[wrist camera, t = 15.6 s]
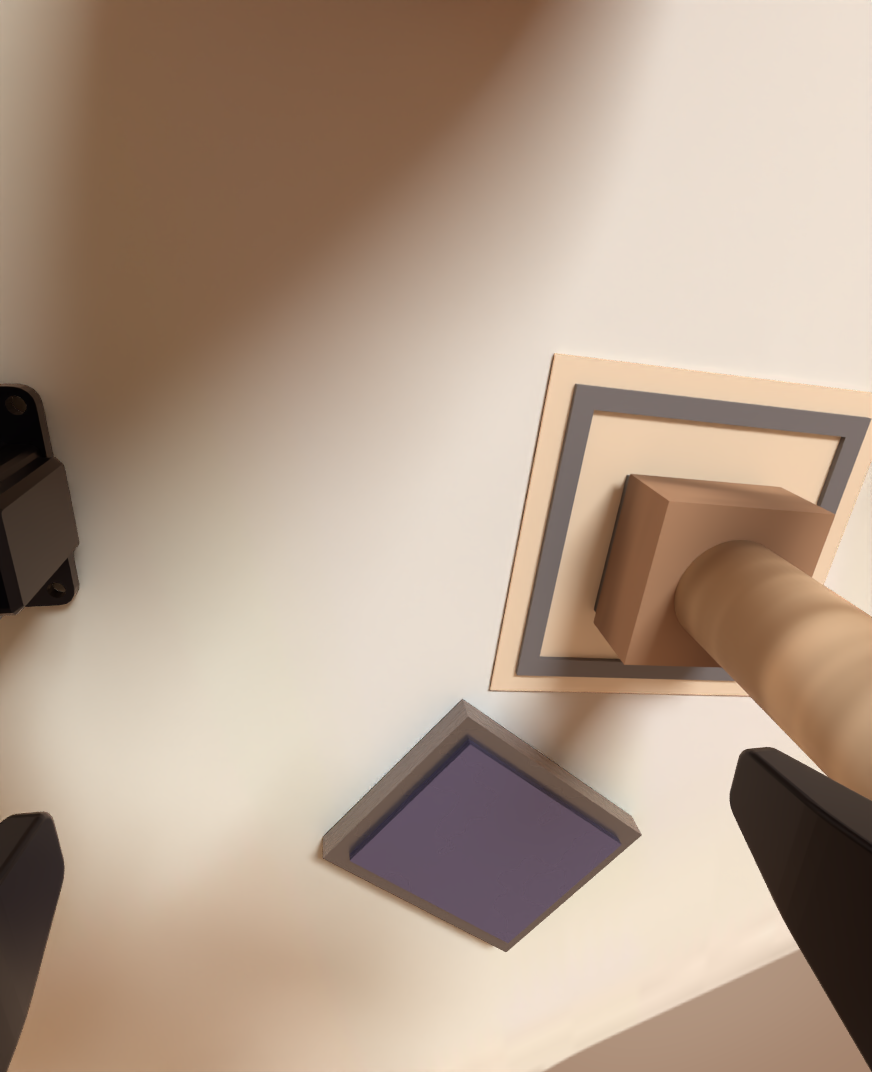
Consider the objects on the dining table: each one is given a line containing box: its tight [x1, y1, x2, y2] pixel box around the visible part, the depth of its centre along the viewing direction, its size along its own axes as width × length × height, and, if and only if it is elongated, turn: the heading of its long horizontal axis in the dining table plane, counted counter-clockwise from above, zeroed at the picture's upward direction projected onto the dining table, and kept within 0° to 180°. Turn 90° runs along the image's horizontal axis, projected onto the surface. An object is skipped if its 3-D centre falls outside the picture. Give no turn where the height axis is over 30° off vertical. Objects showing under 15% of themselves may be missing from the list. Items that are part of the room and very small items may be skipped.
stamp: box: [593, 474, 872, 801], centre depth 17 cm, size 5×5×12 cm
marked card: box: [490, 353, 872, 696], centre depth 23 cm, size 12×12×1 cm
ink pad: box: [323, 699, 642, 952], centre depth 26 cm, size 10×8×1 cm
